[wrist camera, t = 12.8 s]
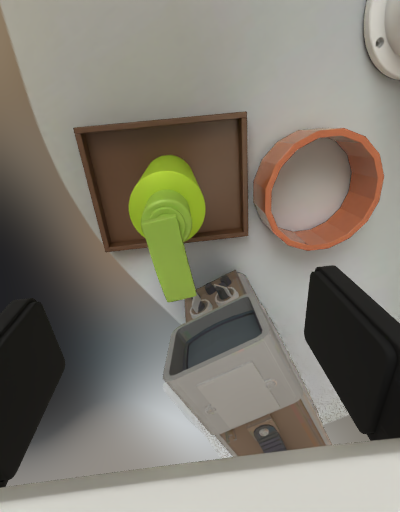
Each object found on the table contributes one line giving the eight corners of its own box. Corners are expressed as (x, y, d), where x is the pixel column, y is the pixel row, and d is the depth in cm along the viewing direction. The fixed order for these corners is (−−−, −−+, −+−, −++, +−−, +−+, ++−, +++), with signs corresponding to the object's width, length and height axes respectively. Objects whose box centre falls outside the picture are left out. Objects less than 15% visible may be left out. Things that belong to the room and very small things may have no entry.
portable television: (232, 244, 37) (385, 546, 10) (289, 354, 47) (443, 656, 20) (156, 282, 39) (120, 634, 12) (227, 381, 49) (294, 696, 22)
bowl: (253, 134, 32) (266, 135, 27) (364, 123, 32) (395, 123, 28) (253, 240, 38) (264, 256, 33) (347, 229, 38) (371, 243, 34)
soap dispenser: (155, 217, 35) (135, 315, 16) (138, 161, 32) (92, 205, 14) (200, 207, 34) (230, 293, 16) (187, 149, 32) (207, 178, 13)
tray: (78, 127, 30) (72, 127, 28) (242, 112, 31) (246, 111, 29) (108, 246, 36) (105, 252, 34) (244, 230, 37) (248, 236, 35)
